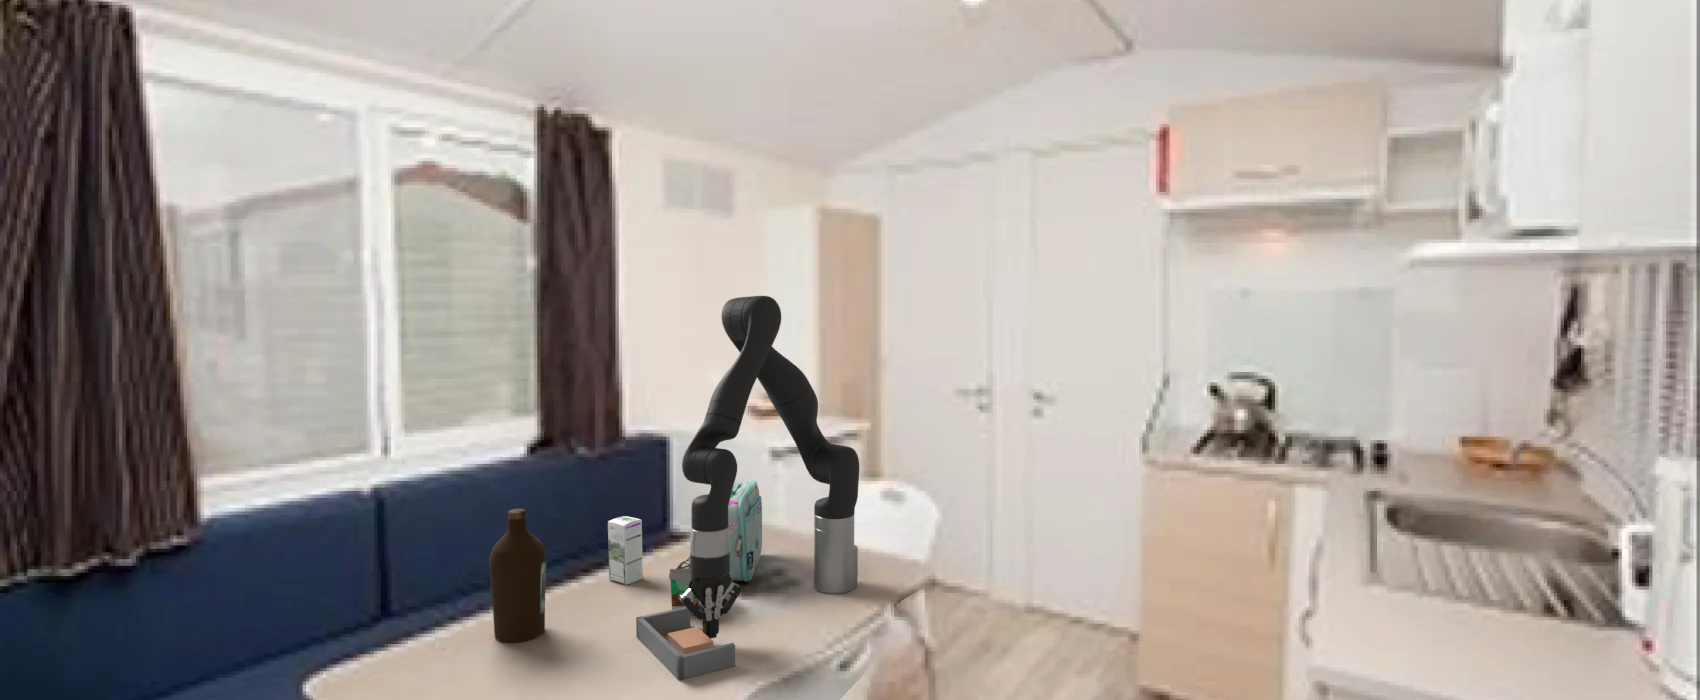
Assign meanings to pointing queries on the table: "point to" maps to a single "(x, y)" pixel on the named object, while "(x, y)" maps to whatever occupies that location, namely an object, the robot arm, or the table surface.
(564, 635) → the table surface
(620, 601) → the table surface
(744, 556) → the lunch box
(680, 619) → the box
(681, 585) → the food container
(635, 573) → the syrup box
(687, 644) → the tile
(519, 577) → the olive oil
